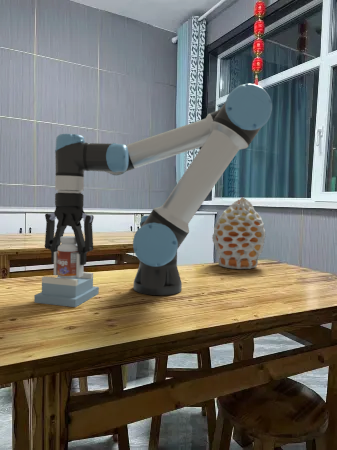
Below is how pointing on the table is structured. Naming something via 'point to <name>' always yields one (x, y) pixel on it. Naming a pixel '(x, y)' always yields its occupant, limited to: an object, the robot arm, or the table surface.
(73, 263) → the pill bottle
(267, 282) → the table surface
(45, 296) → the pedestal
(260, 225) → the sculpture
